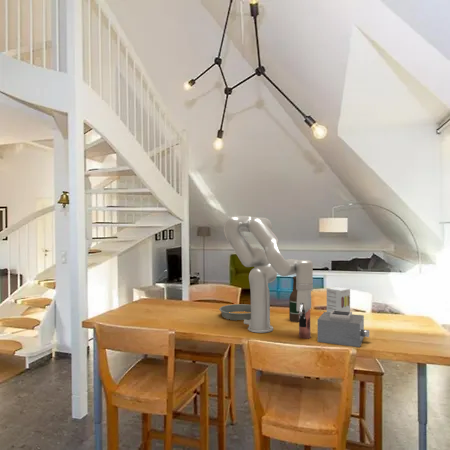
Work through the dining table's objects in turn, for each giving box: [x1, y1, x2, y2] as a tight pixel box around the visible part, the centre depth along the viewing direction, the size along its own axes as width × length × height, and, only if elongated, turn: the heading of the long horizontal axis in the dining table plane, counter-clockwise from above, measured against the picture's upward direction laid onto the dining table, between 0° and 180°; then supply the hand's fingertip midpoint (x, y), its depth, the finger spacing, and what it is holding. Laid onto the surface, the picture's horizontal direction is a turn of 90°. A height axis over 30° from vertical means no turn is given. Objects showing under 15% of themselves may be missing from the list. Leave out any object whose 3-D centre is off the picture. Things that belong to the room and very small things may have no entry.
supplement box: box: [326, 286, 351, 312], centre depth 211 cm, size 10×9×17 cm
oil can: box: [298, 309, 311, 340], centre depth 179 cm, size 5×5×15 cm
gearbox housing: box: [316, 310, 370, 348], centre depth 174 cm, size 21×16×12 cm
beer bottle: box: [288, 275, 299, 323], centre depth 208 cm, size 8×8×24 cm
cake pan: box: [219, 303, 251, 321], centre depth 220 cm, size 25×25×4 cm
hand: (304, 324), depth 179 cm, fingers open, 6 cm apart
